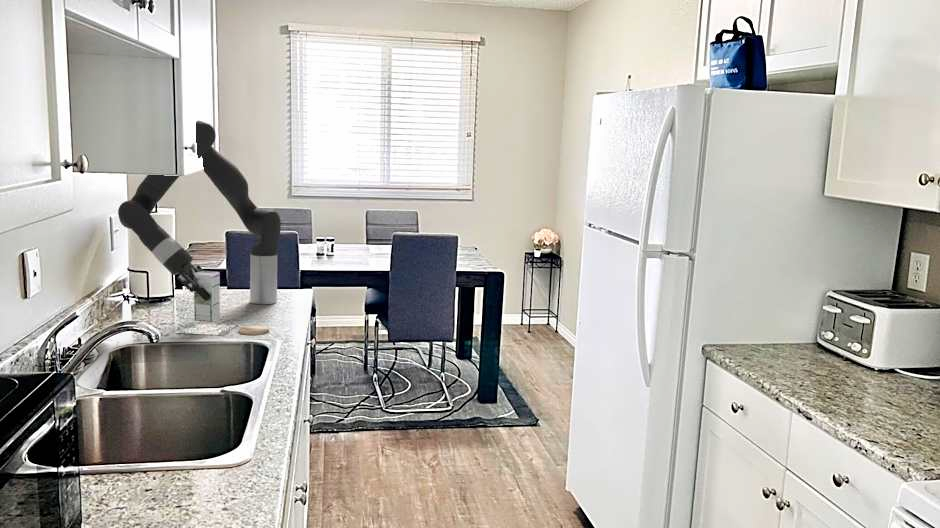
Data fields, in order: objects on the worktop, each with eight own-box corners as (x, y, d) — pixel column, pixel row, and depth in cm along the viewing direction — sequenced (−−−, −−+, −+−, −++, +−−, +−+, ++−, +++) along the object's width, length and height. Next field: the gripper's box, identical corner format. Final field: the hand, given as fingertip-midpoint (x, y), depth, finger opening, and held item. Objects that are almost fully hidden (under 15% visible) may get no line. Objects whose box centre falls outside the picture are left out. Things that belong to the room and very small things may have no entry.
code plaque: (192, 322, 228) (192, 322, 227) (237, 324, 228) (237, 324, 228) (174, 333, 214) (174, 333, 214) (223, 335, 214) (223, 335, 214)
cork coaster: (243, 327, 225) (243, 325, 225) (272, 328, 226) (272, 326, 226) (234, 334, 217) (234, 332, 216) (265, 335, 217) (265, 333, 217)
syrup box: (220, 318, 223) (220, 271, 221) (212, 322, 218) (211, 274, 215) (202, 316, 224) (202, 270, 222) (193, 321, 218) (193, 273, 216)
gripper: (171, 250, 210) (213, 293, 212) (190, 244, 224) (229, 283, 226) (153, 268, 211) (195, 310, 213) (172, 260, 225) (212, 299, 227)
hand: (212, 296), depth 220 cm, fingers closed on syrup box, 6 cm apart
